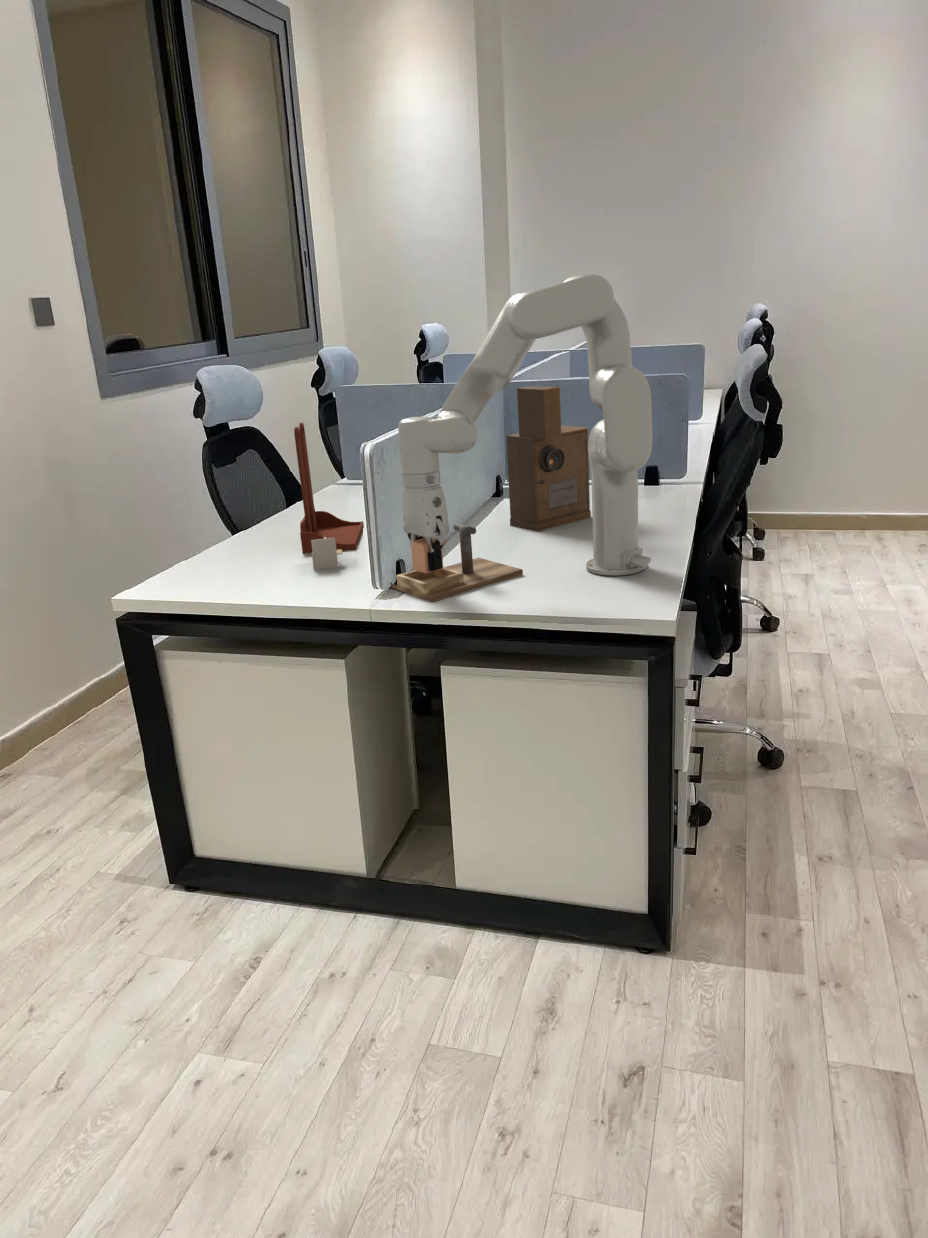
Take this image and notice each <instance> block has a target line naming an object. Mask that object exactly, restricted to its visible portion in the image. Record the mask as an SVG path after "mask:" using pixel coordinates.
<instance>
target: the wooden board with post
mask: <svg viewBox="0 0 928 1238" xmlns="http://www.w3.org/2000/svg"><path fill="white" fill-rule="evenodd" d="M453 529H454V530H455V531H458V533H459V545H460V546H459V547H460V561H461V562H458V563H454V564H451V565H447V566H443V569H440V570H437V571H433V572H429V573H423V572H419V571H416V570H410V571H407V572H402V573H398V574H396V575H395V576H396V578H395V579H396V580H397V585H395V584H392V583H390V588H391V589H394V590H397V591H400V592H403V593H406V594H408V595H412V596H414V597H417V598H420V599H421V600H422V599H423V600H426V601H428V602H432V603H434V602H437V601H440V600H444V599H447V598H450V597H453V596H457V595H461V594H463V593H467V592H470V591H474V590H476V589H481V588H483V587H487V586H490V585H493V584H496V583H500V582H504V581H507V580H510V579H513V578H516V577H520V576H522V575H524V574H523V572H524V570H523V569H522V568H519V567H515V566H512V565H508V564H504V563H500V562H496V561H493V560H489V559H485V558H481V557H476V558H473V548H472V547H473V546H472V544H473V543H472V535H475V534H476V533H477V528H476V527H474V526H473V527H472V526H470V525H464V524H460V523H454V524H453Z"/></svg>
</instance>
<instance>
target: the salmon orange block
mask: <svg viewBox="0 0 928 1238" xmlns="http://www.w3.org/2000/svg"><path fill="white" fill-rule="evenodd" d="M432 541H433V544H434V542H435V541H436V539H433V540H432ZM410 542H411V545H410V547H411V548H410V549H411V560H412V569H413V570H416V571H419V572H423V573H429V572H433V571H429V568H428V556H427V552H429V548H428V543H427V539H426V537H425V538H423V539H419V540H415V541H410ZM441 552H442V553H443V550H441ZM443 559H444V558H443V556H442V565H443V567H444V560H443ZM443 567H442V569H443ZM413 570H412V571H413ZM439 570H440V569H439ZM435 571H437V570H435Z"/></svg>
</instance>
